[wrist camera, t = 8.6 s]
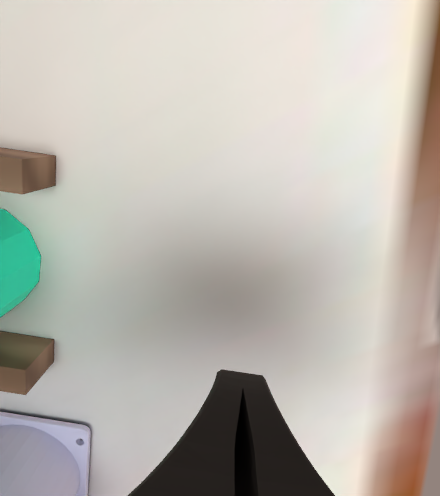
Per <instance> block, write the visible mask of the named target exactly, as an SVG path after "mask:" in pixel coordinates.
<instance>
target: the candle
mask: <svg viewBox="0 0 440 496" xmlns="http://www.w3.org/2000/svg"><path fill="white" fill-rule="evenodd" d="M40 262H41V255H40V253H39V251H38V248H37V246H36V244H35V242H34V240H33V237H32V235H31V233H30V231H29V229H28V228H27V227H25V226H24V225H23V224H22V223H20V222H19V221H18V220H17V219H16V218H14V217H13V216H12V215H11V214H10V213H8V212H7V211H6V210H4V209H0V317H2V316H3V315H4V314H6V313H7V312H8V311H10V310H11V309H12V308H14V307H15V306H16V305H18V304H19V303H20V302H22V301H23V300H24V299H25V298H26V297H27V295H28V294H29V293H30V292H31V291H32V289H33V288H34V287H35V286H36V285H37V283H38V282H39V273H40Z"/></svg>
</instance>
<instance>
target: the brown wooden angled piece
mask: <svg viewBox="0 0 440 496" xmlns="http://www.w3.org/2000/svg"><path fill="white" fill-rule="evenodd" d="M55 169H56V156H54V155H47V154H40V153H33V152H27V151H20V150H13V149H6V148H0V191H4V192H11V193H17V194H25V193H29V192H33V191H37V190H41V189H44V188H48V187H52V186H55ZM53 362H54V339H47V338H41V337H34V336H28V335H21V334H15V333H9V332H2V331H0V391H4V392H10V393H17V394H23V395H26V394H27V393H28V392H29V390H30V389H31V388H32V387H33V386H34V384H35V383H36V382H37V381H38V380H39V379H40V377H41V376H42V375H43V374H44V373H45V371H46V370H47V369H48V368H49V367H50V365H51V364H52V363H53Z"/></svg>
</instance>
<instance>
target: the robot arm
mask: <svg viewBox="0 0 440 496" xmlns="http://www.w3.org/2000/svg"><path fill="white" fill-rule="evenodd" d="M90 436H91V432H90V429H89V428H88V427H87V426H85V425H81V424H75V423H69V422H62V421H56V420H50V419H44V418H37V417H31V416H25V415H19V414H12V413H6V412H0V496H88V479H89V457H90ZM80 439H83V440H84V441H82V440H80ZM128 496H335V495H334V494H333V493H332V491H331V490H330V489H329V488H328V486H327V485H326V484H325V482H324V481H323V480H322V478H321V477H320V476H319V474H318V473H317V471H316V470H315V469H314V467H313V466H312V464H311V463H310V461H309V460H308V458H307V457H306V455H305V454H304V452H303V451H302V449H301V447H300V446H299V444H298V443H297V441H296V439H295V438H294V436H293V434H292V433H291V431H290V429H289V427H288V425H287V424H286V422H285V420H284V418H283V416H282V415H281V413H280V411H279V409H278V407H277V405H276V403H275V401H274V399H273V396H272V394H271V392H270V390H269V387H268V385H267V382H266V380H265V378H264V377H263V376H262V375H255V374H248V373H242V372H235V371H228V370H220V371H218V372H217V376H216V379H215V382H214V384H213V387H212V389H211V391H210V393H209V395H208V397H207V399H206V401H205V402H204V404H203V406H202V407H201V409H200V411H199V413H198V414H197V416H196V417H195V419H194V420H193V422H192V423H191V425H190V426H189V427H188V429H187V430H186V432H185V433H184V435H183V436H182V437H181V439H180V440H179V441H178V442H177V444H176V445H175V446H174V447H173V449H172V450H171V451H170V452H169V453H168V455H167V456H166V457H165V458H164V459H163V461H162V462H161V463H160V464H159V465H158V466H157V467H156V468H155V469H154V470H153V471H152V472H151V473H150V474H149V475H148V477H147V478H146V479H145V480H144V481H143V482H142V483H141V484H140V485H139V486H138V487H137V488H135V489H134V490H133V491H132V492H131V493H130V494H129V495H128Z"/></svg>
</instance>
